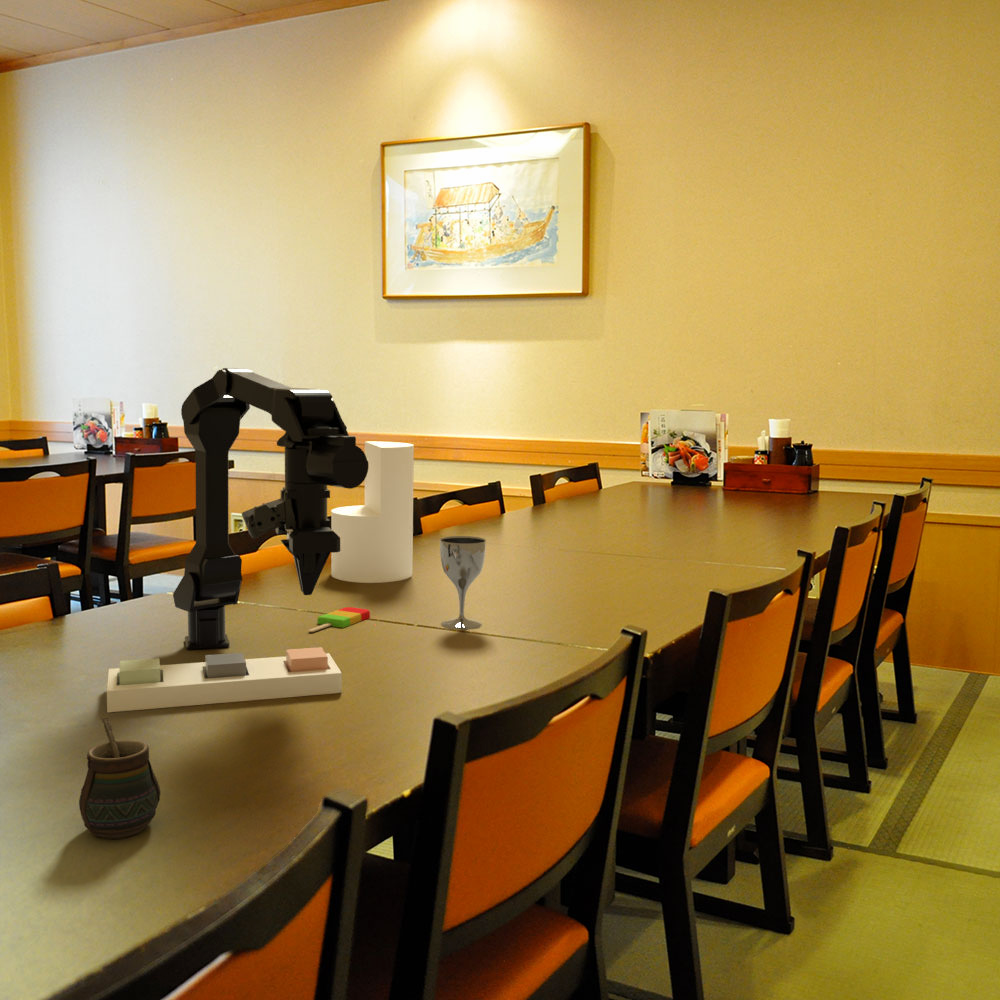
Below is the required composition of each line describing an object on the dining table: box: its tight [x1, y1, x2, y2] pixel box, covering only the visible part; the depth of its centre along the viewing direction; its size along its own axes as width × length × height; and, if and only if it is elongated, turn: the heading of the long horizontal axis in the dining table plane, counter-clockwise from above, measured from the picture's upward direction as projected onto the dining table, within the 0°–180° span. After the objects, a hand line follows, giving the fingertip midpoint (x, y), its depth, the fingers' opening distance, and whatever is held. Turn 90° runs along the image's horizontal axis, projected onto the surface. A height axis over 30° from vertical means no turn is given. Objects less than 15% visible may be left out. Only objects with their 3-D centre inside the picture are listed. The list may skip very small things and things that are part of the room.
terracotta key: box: [285, 646, 328, 672], centre depth 143 cm, size 5×5×2 cm
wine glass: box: [439, 535, 487, 631], centre depth 178 cm, size 8×8×15 cm
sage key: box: [119, 657, 161, 685], centre depth 136 cm, size 5×5×2 cm
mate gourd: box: [78, 717, 161, 840], centre depth 98 cm, size 7×8×10 cm
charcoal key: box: [204, 652, 246, 679], centre depth 140 cm, size 5×5×2 cm
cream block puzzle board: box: [106, 652, 343, 713], centre depth 140 cm, size 10×30×3 cm, turn 109°
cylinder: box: [330, 440, 415, 584], centre depth 219 cm, size 17×17×28 cm
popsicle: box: [308, 606, 371, 633], centre depth 178 cm, size 6×15×2 cm, turn 154°
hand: (306, 593), depth 142 cm, fingers closed
